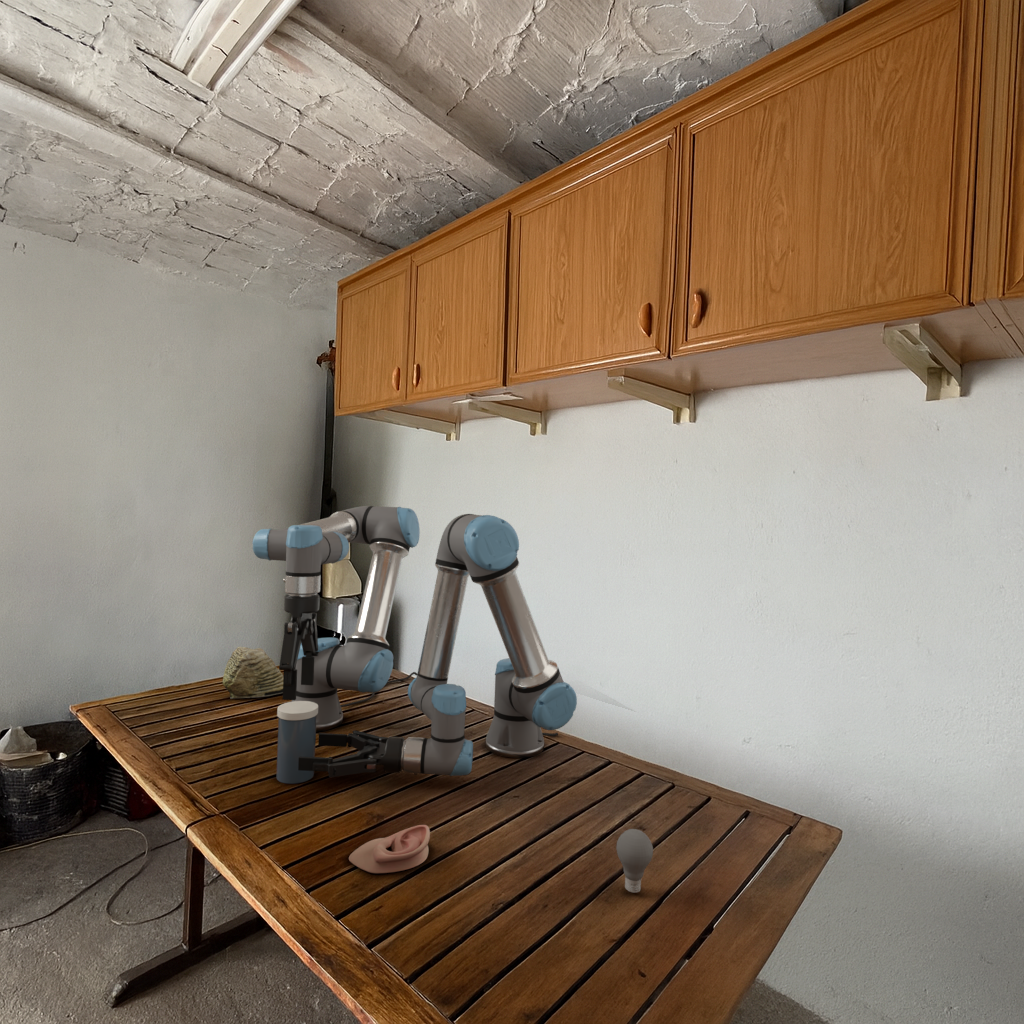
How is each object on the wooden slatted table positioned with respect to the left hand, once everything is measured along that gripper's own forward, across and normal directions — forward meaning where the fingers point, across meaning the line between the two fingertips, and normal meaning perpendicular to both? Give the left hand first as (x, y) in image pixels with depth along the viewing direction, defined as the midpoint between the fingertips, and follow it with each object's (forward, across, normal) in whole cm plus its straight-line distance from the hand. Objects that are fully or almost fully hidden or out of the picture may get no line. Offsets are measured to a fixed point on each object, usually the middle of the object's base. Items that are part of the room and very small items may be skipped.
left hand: (298, 691), depth 143 cm
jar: (+19, 0, 0) cm, 19 cm away
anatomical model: (+19, +30, +28) cm, 45 cm away
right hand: (+13, +1, +3) cm, 13 cm away
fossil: (+19, -54, -33) cm, 66 cm away
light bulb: (+19, +36, +70) cm, 81 cm away
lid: (+4, 0, 0) cm, 4 cm away
